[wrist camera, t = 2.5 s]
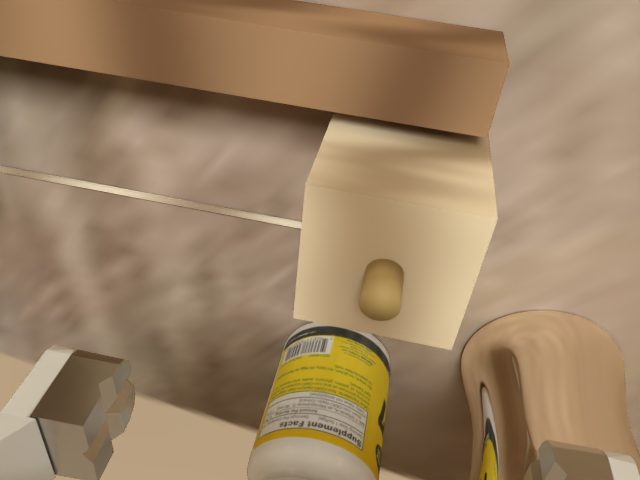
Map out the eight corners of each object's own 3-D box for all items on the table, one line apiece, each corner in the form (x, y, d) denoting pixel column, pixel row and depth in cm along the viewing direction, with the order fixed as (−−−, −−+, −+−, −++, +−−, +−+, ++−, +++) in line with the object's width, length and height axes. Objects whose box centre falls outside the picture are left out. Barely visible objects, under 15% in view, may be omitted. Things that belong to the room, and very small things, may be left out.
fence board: (502, 32, 16) (511, 71, 13) (439, 253, 21) (437, 310, 18) (-138, -65, 18) (-230, -46, 15) (-57, 159, 22) (-117, 200, 20)
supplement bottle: (367, 404, 27) (338, 601, 20) (272, 368, 26) (211, 555, 20) (410, 341, 24) (393, 548, 17) (304, 300, 23) (244, 494, 17)
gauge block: (487, 116, 17) (500, 251, 12) (451, 234, 20) (451, 384, 15) (341, 93, 18) (293, 212, 12) (326, 210, 20) (283, 349, 15)
